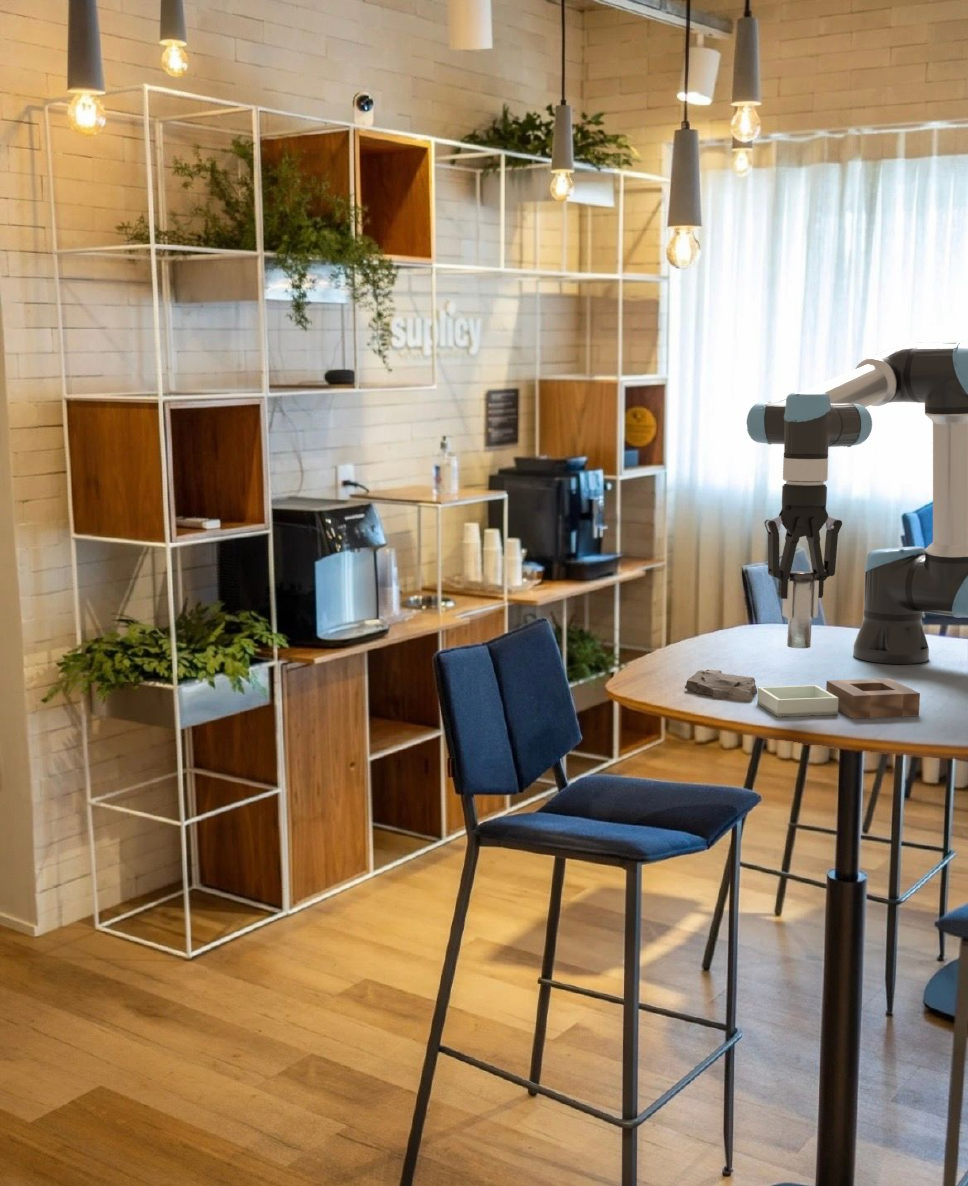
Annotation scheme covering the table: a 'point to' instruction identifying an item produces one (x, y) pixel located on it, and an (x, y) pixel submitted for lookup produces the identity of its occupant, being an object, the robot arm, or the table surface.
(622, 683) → the table surface
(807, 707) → the tray
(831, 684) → the bore block
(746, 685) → the rock
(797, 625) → the capped bottle
